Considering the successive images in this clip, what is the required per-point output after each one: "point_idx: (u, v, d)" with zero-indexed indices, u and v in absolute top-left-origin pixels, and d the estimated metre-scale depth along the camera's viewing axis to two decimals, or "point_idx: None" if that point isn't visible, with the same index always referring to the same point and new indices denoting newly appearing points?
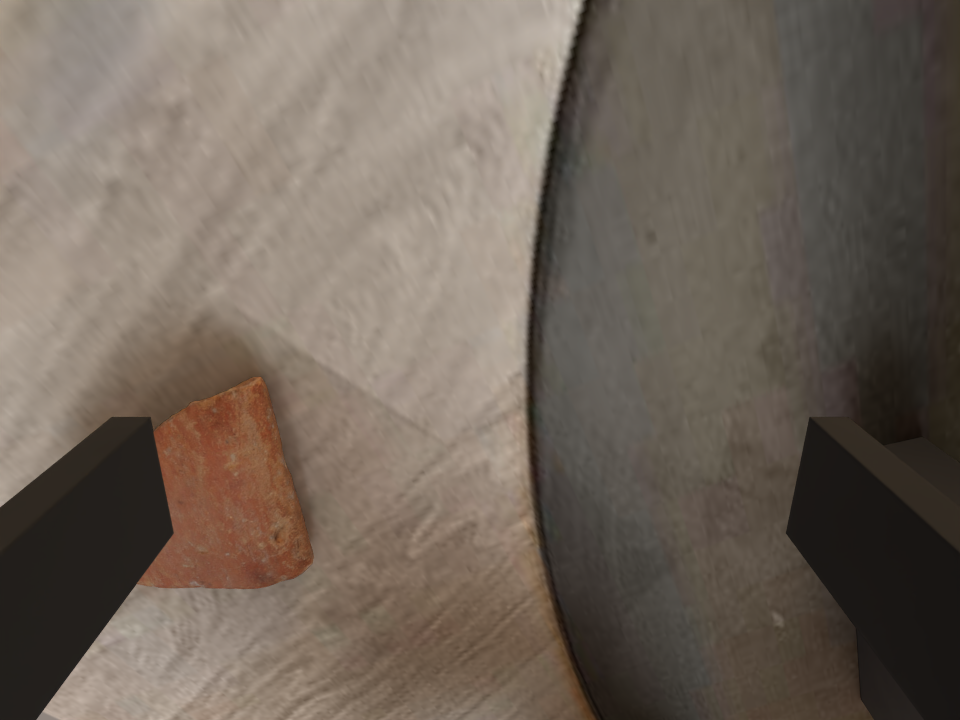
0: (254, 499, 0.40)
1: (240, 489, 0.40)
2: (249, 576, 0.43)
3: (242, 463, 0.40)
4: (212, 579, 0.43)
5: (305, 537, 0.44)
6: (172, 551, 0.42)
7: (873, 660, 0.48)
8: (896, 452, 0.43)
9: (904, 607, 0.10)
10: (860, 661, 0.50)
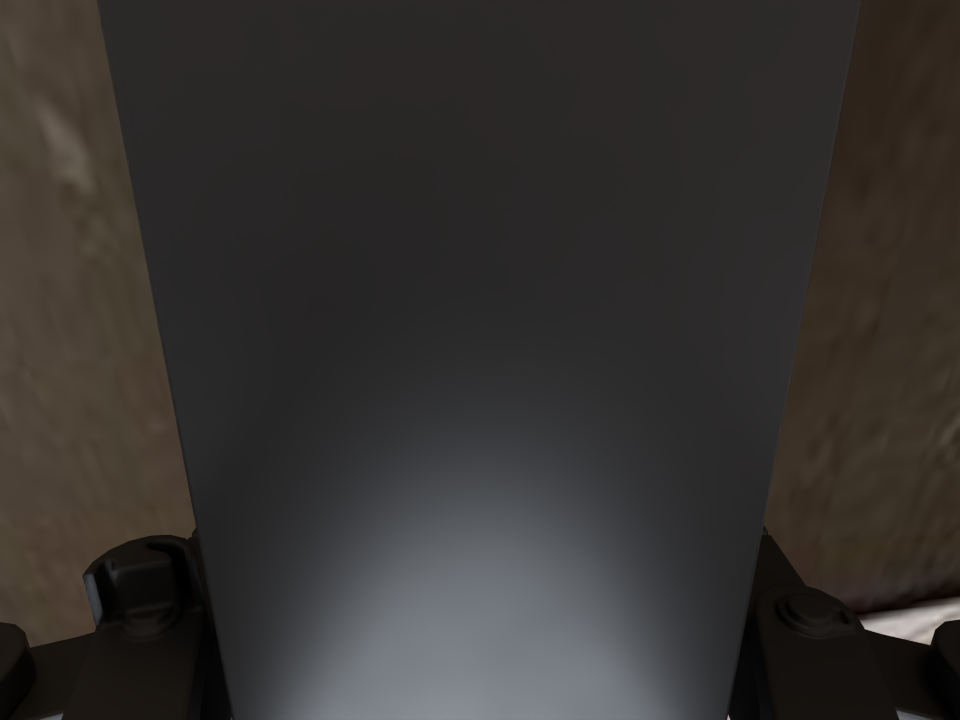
0: None
1: None
2: None
3: None
4: None
5: None
6: None
7: None
8: None
9: None
10: None
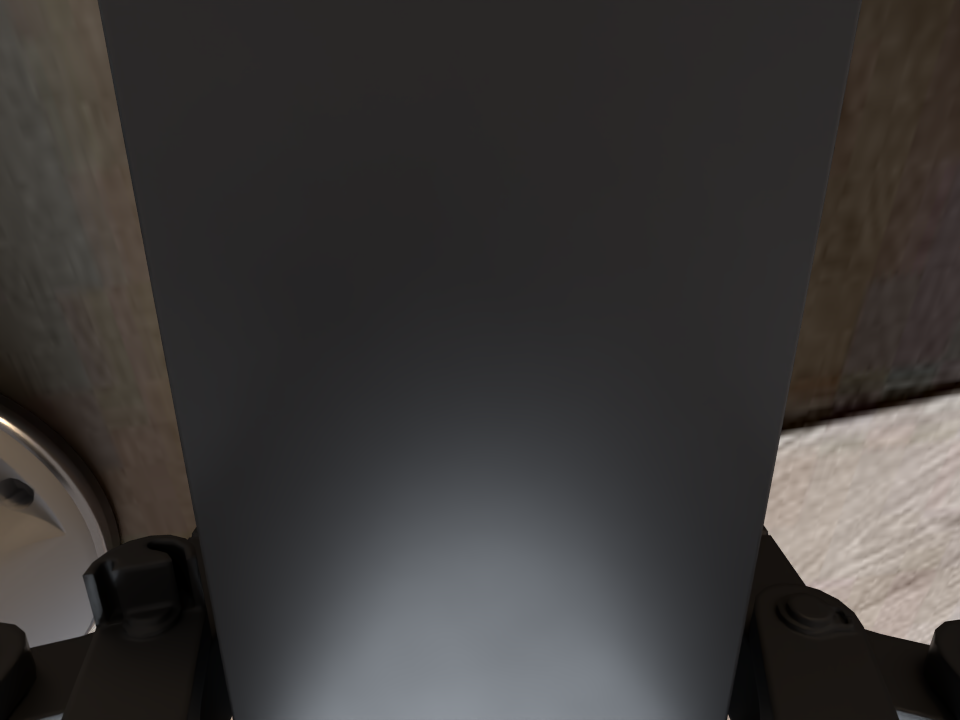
0: None
1: None
2: None
3: None
4: None
5: None
6: None
7: None
8: None
9: None
10: None
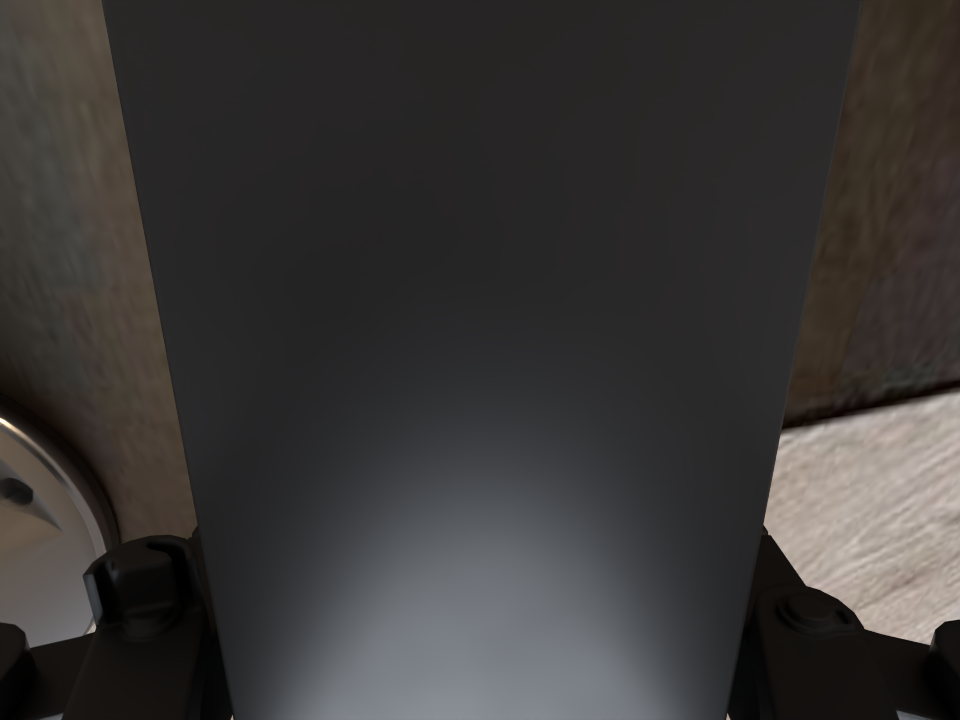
0: None
1: None
2: None
3: None
4: None
5: None
6: None
7: None
8: None
9: None
10: None
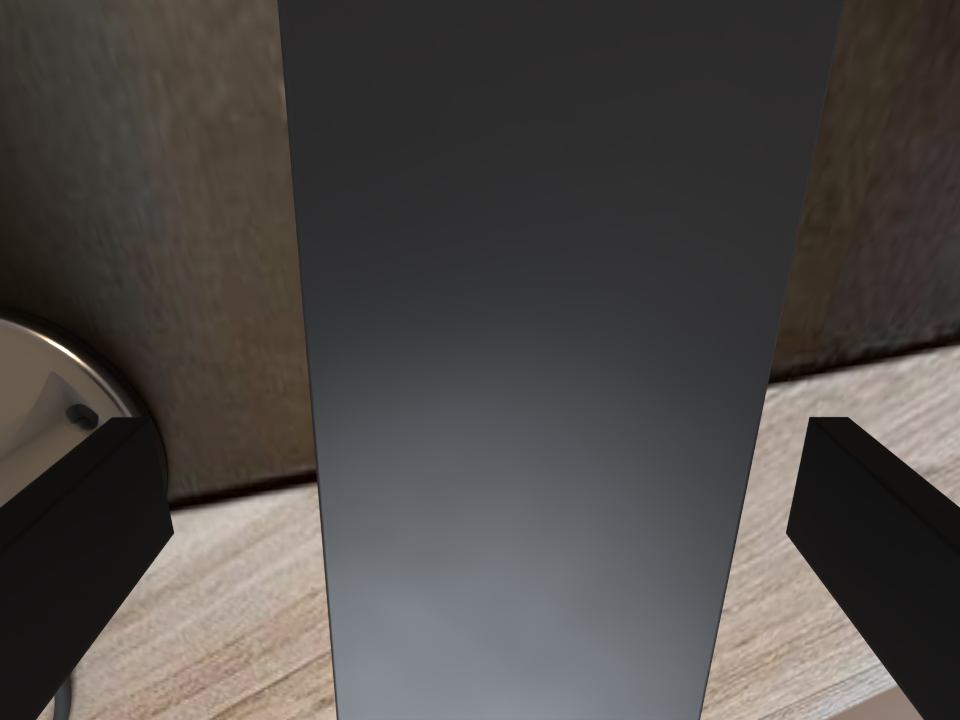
0: None
1: None
2: None
3: None
4: None
5: None
6: None
7: None
8: None
9: (904, 607, 0.10)
10: None
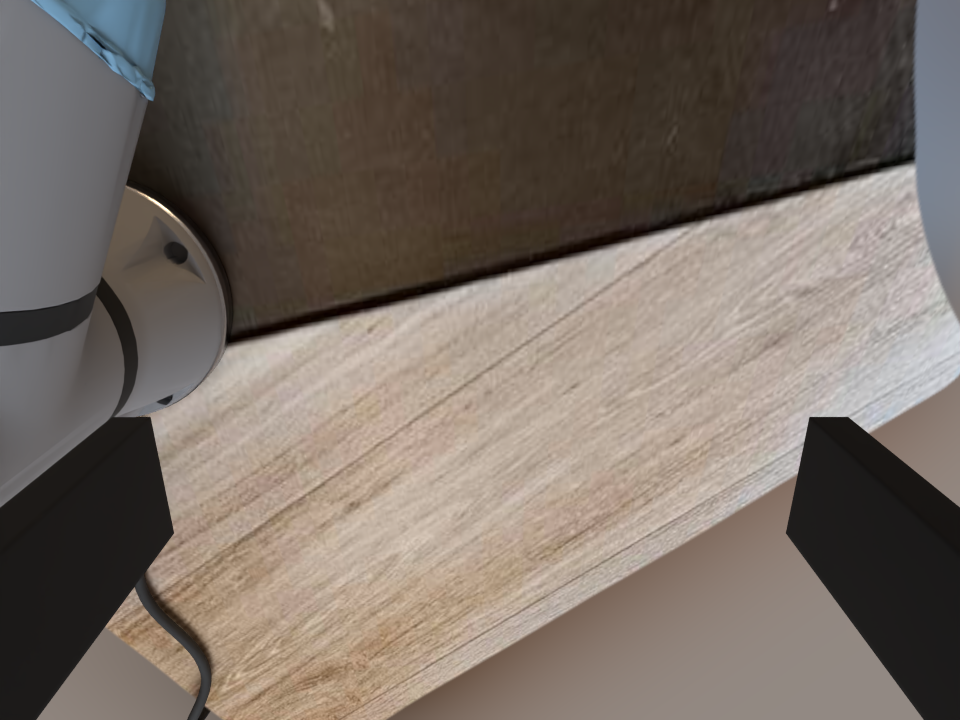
0: None
1: None
2: None
3: None
4: None
5: None
6: None
7: None
8: None
9: (904, 607, 0.10)
10: None
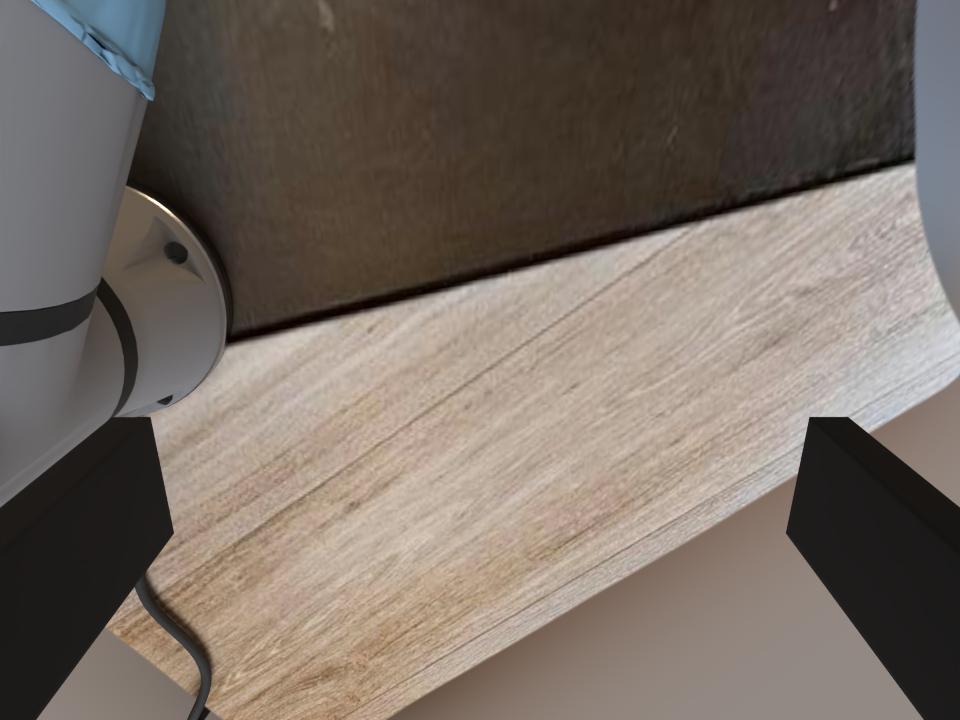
0: None
1: None
2: None
3: None
4: None
5: None
6: None
7: None
8: None
9: (904, 607, 0.10)
10: None
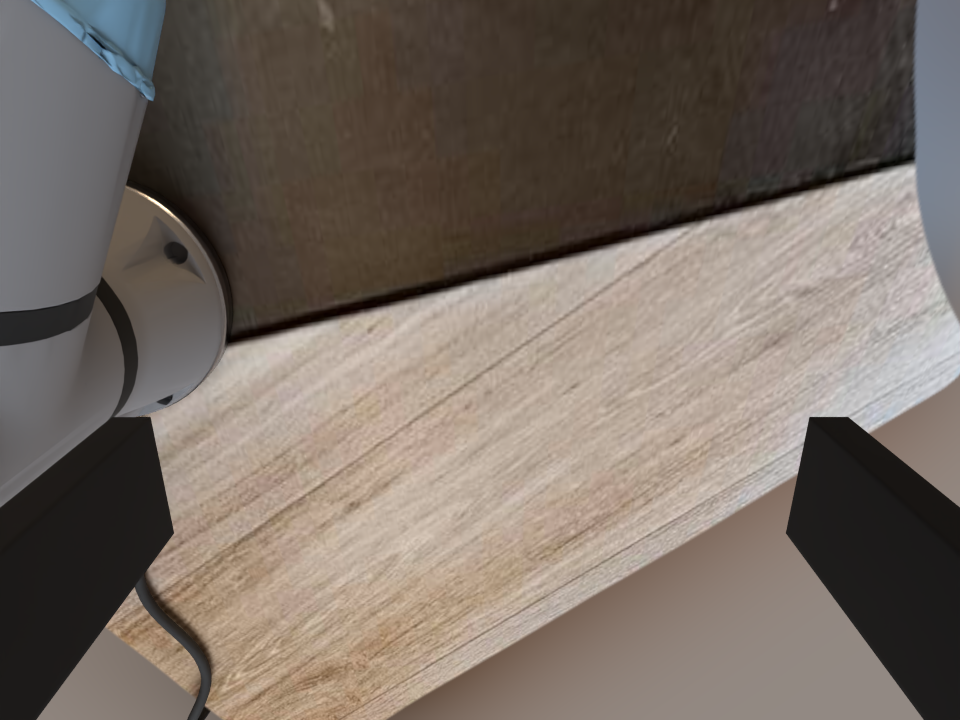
0: None
1: None
2: None
3: None
4: None
5: None
6: None
7: None
8: None
9: (904, 607, 0.10)
10: None
